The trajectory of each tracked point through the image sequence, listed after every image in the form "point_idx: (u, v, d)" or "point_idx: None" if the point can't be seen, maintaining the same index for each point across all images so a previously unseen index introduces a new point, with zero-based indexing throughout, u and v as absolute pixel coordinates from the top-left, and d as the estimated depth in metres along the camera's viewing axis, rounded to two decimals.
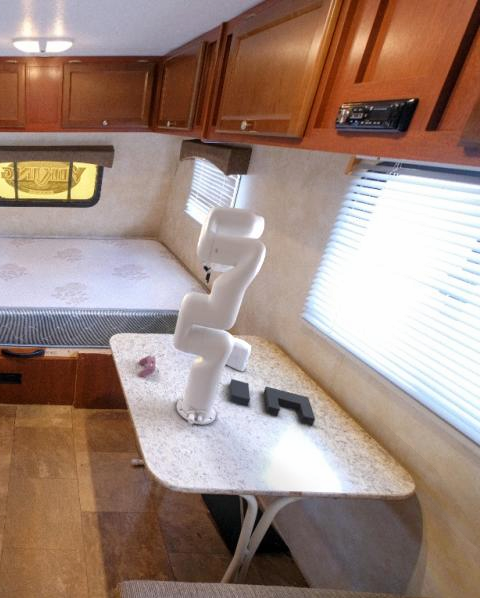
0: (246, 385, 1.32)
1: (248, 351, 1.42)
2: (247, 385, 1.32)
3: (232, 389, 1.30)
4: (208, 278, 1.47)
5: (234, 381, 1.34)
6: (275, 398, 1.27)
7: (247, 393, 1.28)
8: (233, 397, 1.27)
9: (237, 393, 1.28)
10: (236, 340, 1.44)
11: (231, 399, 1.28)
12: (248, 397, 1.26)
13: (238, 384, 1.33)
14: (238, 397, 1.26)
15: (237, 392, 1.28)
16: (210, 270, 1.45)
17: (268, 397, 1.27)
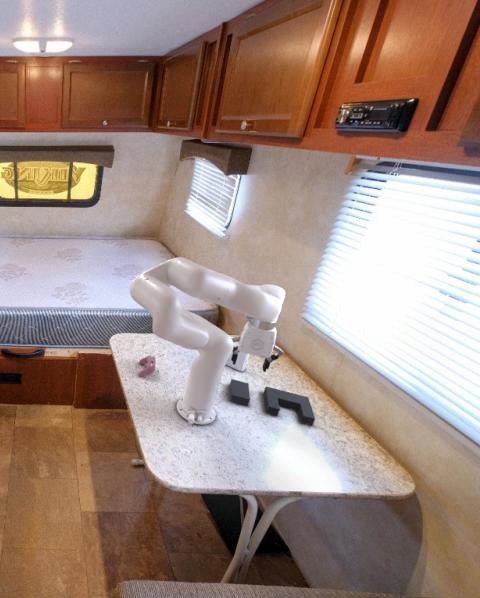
0: (246, 385, 1.32)
1: None
2: (247, 385, 1.32)
3: (232, 389, 1.30)
4: (235, 359, 1.23)
5: (234, 381, 1.34)
6: (275, 398, 1.27)
7: (247, 393, 1.28)
8: (233, 397, 1.27)
9: (237, 393, 1.28)
10: None
11: (231, 399, 1.28)
12: (248, 397, 1.26)
13: (238, 384, 1.33)
14: (238, 397, 1.26)
15: (237, 392, 1.28)
16: (237, 351, 1.22)
17: (268, 397, 1.27)
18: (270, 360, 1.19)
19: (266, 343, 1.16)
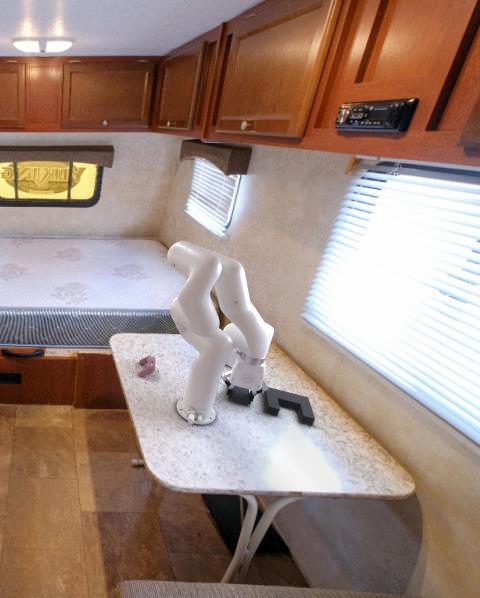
0: None
1: None
2: None
3: None
4: (230, 394, 1.28)
5: None
6: (275, 398, 1.27)
7: (247, 393, 1.28)
8: (233, 397, 1.27)
9: (238, 393, 1.28)
10: None
11: (231, 399, 1.28)
12: (248, 397, 1.26)
13: None
14: (238, 397, 1.26)
15: (237, 392, 1.28)
16: (232, 385, 1.26)
17: (268, 397, 1.27)
18: (254, 394, 1.25)
19: (256, 377, 1.21)
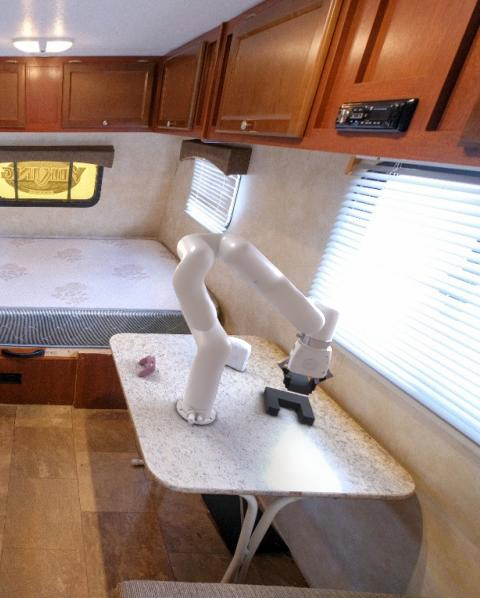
0: None
1: (248, 351, 1.42)
2: None
3: None
4: (288, 383, 1.14)
5: None
6: (275, 398, 1.27)
7: (307, 382, 1.15)
8: (292, 386, 1.14)
9: (296, 382, 1.14)
10: (236, 340, 1.44)
11: (289, 388, 1.14)
12: (309, 385, 1.13)
13: None
14: (298, 386, 1.13)
15: (296, 380, 1.15)
16: (290, 373, 1.13)
17: (268, 397, 1.27)
18: (317, 382, 1.11)
19: (320, 363, 1.07)
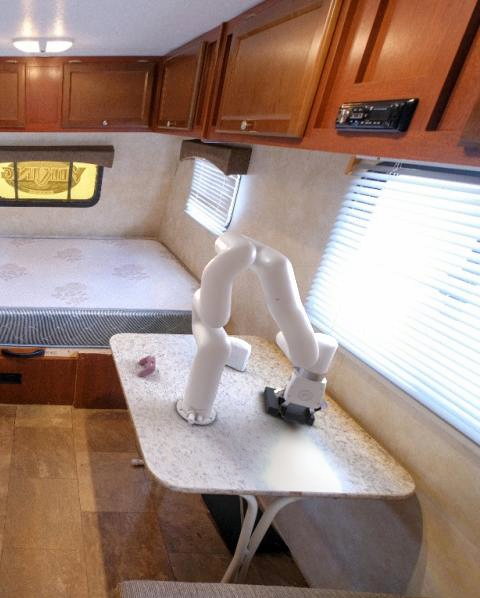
0: None
1: (248, 351, 1.42)
2: None
3: None
4: (284, 412, 1.18)
5: None
6: (275, 398, 1.27)
7: (303, 410, 1.18)
8: (288, 415, 1.17)
9: (292, 410, 1.18)
10: (236, 340, 1.44)
11: (285, 417, 1.18)
12: (304, 414, 1.16)
13: None
14: (293, 415, 1.16)
15: (292, 409, 1.18)
16: (286, 402, 1.16)
17: (268, 397, 1.27)
18: (312, 411, 1.15)
19: (315, 394, 1.11)
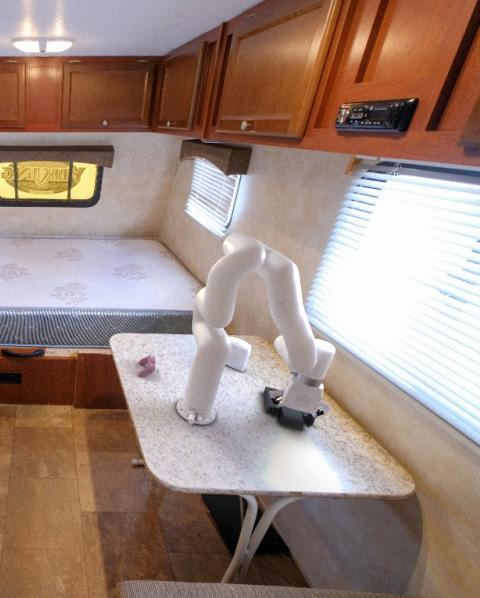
0: None
1: (248, 351, 1.42)
2: None
3: (283, 411, 1.21)
4: (277, 413, 1.18)
5: None
6: None
7: (300, 416, 1.19)
8: (285, 420, 1.18)
9: (290, 416, 1.19)
10: (236, 340, 1.44)
11: (283, 422, 1.19)
12: (302, 420, 1.17)
13: None
14: (291, 420, 1.17)
15: (289, 414, 1.19)
16: (280, 404, 1.17)
17: (268, 397, 1.27)
18: (315, 416, 1.15)
19: (312, 399, 1.12)
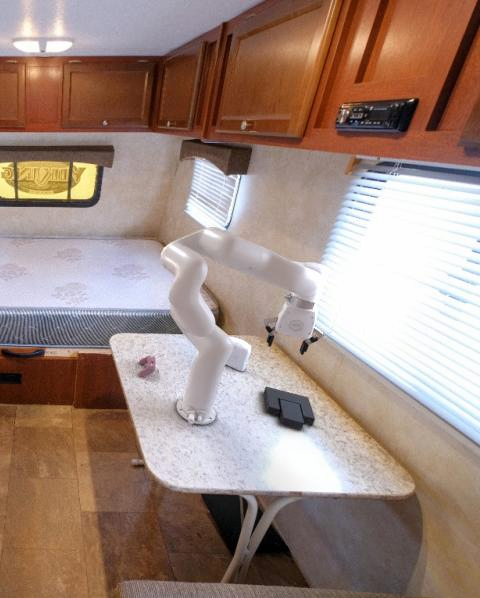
0: (297, 406, 1.23)
1: (248, 351, 1.42)
2: (298, 406, 1.23)
3: (283, 411, 1.21)
4: (271, 341, 1.18)
5: (283, 402, 1.25)
6: (275, 398, 1.27)
7: (300, 416, 1.19)
8: (285, 420, 1.18)
9: (290, 416, 1.19)
10: (236, 340, 1.44)
11: (283, 422, 1.19)
12: (302, 420, 1.17)
13: (288, 405, 1.24)
14: (291, 420, 1.17)
15: (289, 414, 1.19)
16: (274, 332, 1.17)
17: (268, 397, 1.27)
18: (309, 342, 1.15)
19: (306, 324, 1.11)
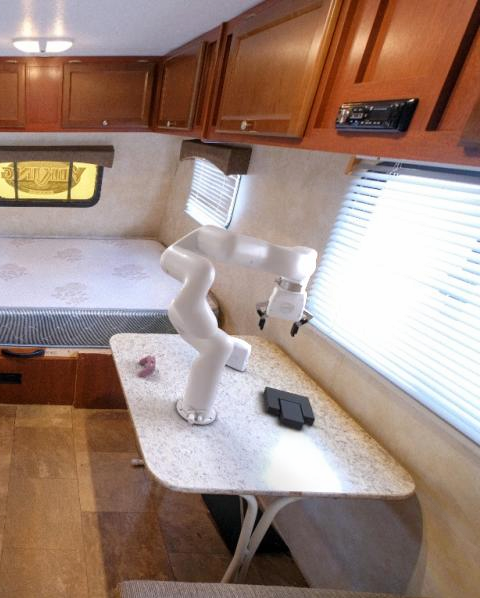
0: (297, 406, 1.23)
1: (248, 351, 1.42)
2: (298, 406, 1.23)
3: (283, 411, 1.21)
4: (262, 324, 1.22)
5: (283, 402, 1.25)
6: (275, 398, 1.27)
7: (300, 416, 1.19)
8: (285, 420, 1.18)
9: (290, 416, 1.19)
10: (236, 340, 1.44)
11: (283, 422, 1.19)
12: (302, 420, 1.17)
13: (288, 405, 1.24)
14: (291, 420, 1.17)
15: (289, 414, 1.19)
16: (265, 315, 1.20)
17: (268, 397, 1.27)
18: (299, 324, 1.18)
19: (296, 306, 1.15)
